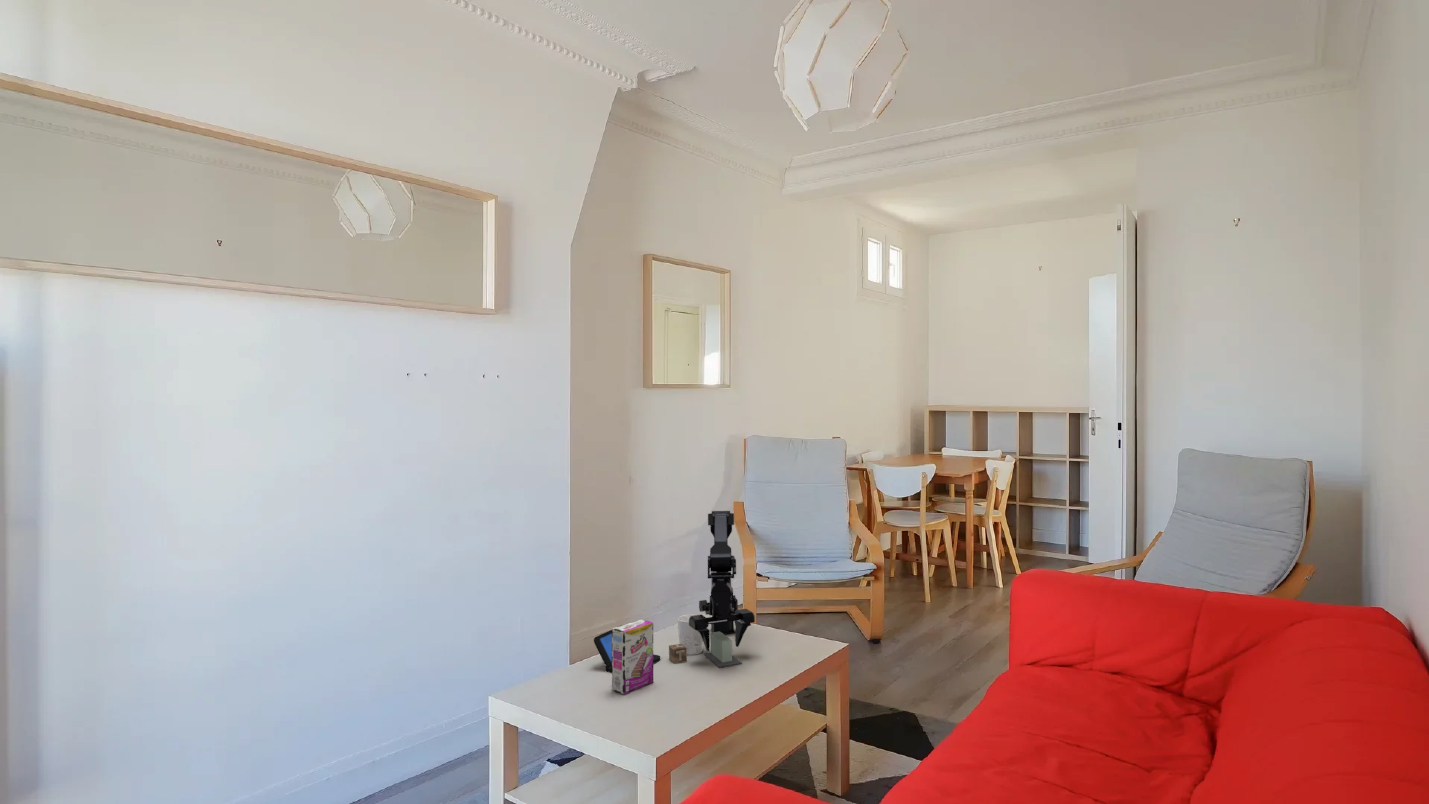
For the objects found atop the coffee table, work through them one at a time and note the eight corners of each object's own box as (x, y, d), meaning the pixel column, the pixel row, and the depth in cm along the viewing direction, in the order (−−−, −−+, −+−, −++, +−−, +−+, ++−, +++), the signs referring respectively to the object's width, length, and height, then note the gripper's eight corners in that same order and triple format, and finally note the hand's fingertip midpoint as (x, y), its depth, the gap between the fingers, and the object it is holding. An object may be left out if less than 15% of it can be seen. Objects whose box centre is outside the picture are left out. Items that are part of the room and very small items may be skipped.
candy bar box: (624, 695, 195) (623, 631, 195) (611, 691, 198) (610, 628, 198) (655, 682, 204) (654, 621, 204) (641, 678, 207) (640, 618, 207)
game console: (632, 677, 208) (631, 644, 208) (592, 670, 215) (591, 638, 215) (662, 660, 222) (662, 629, 222) (624, 653, 229) (623, 623, 229)
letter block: (682, 657, 224) (681, 642, 224) (687, 661, 220) (686, 647, 220) (669, 659, 222) (668, 644, 222) (673, 663, 218) (673, 649, 218)
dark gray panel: (725, 651, 228) (725, 650, 228) (742, 664, 217) (742, 662, 217) (703, 655, 225) (703, 653, 225) (719, 668, 214) (719, 666, 214)
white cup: (674, 649, 231) (673, 616, 231) (698, 645, 234) (697, 613, 234) (684, 657, 224) (683, 623, 224) (708, 653, 227) (708, 619, 227)
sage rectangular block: (732, 660, 218) (731, 640, 218) (722, 662, 217) (722, 641, 217) (720, 651, 227) (719, 631, 227) (710, 653, 225) (710, 632, 225)
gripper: (739, 585, 232) (740, 636, 232) (681, 592, 225) (682, 645, 225) (755, 593, 222) (756, 647, 222) (695, 601, 214) (696, 656, 215)
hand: (722, 648), depth 221 cm, fingers open, 9 cm apart
